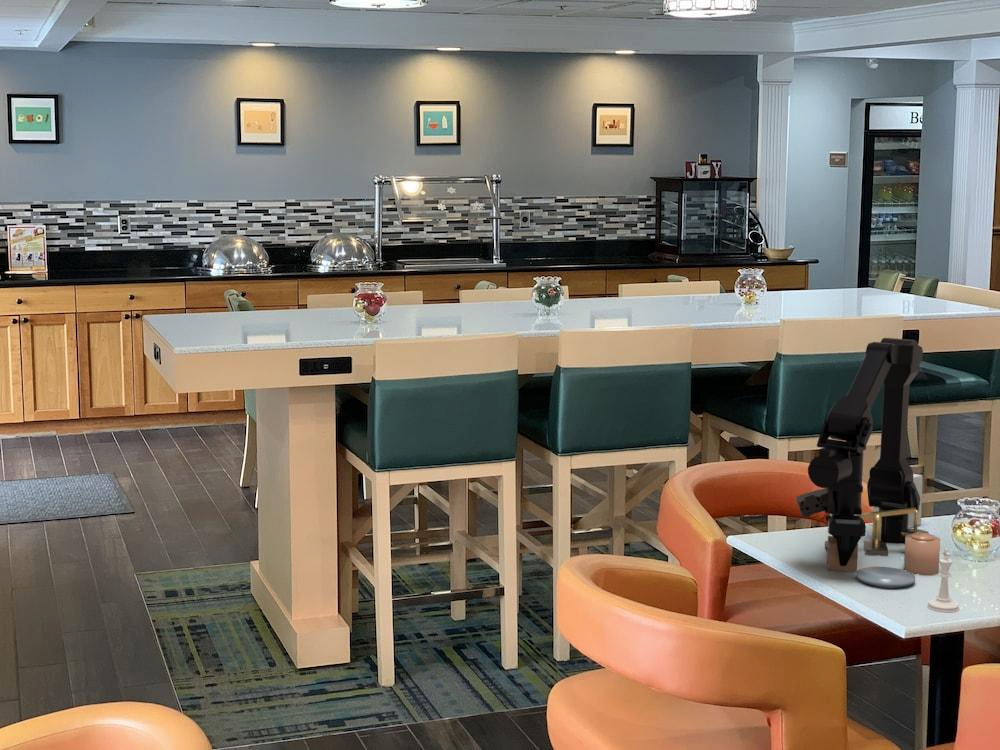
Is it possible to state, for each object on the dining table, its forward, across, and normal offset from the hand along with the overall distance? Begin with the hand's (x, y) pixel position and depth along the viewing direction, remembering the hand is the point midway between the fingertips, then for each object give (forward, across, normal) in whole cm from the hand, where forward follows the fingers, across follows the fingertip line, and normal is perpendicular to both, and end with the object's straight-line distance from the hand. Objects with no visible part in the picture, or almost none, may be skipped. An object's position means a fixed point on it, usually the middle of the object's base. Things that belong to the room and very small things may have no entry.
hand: (842, 561), depth 236 cm
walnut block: (+1, 0, 0) cm, 1 cm away
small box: (+1, -34, +13) cm, 36 cm away
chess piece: (+1, +20, +15) cm, 25 cm away
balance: (+1, -12, +7) cm, 14 cm away
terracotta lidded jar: (+1, -1, +14) cm, 14 cm away
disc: (+1, +7, +7) cm, 10 cm away
